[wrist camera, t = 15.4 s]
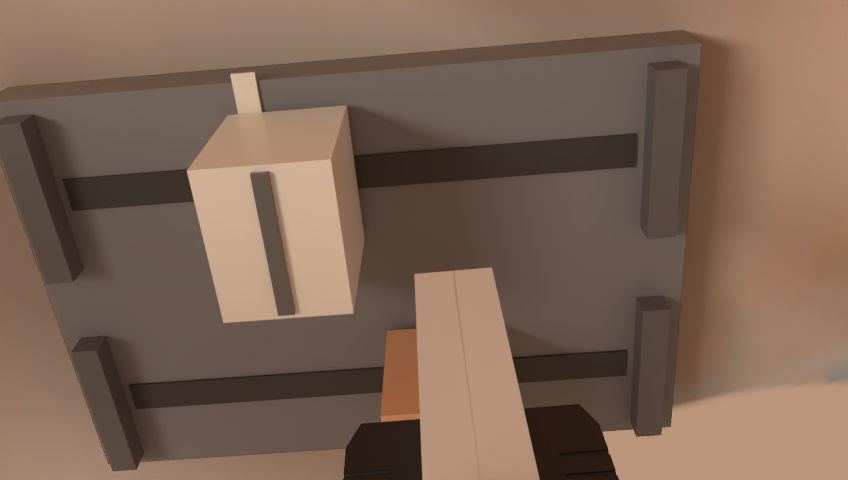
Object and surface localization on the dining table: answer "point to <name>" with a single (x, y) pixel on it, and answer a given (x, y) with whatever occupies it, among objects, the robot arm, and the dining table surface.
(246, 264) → the off-white fader knob
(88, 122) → the console
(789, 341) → the dining table surface
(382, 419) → the terracotta fader knob
